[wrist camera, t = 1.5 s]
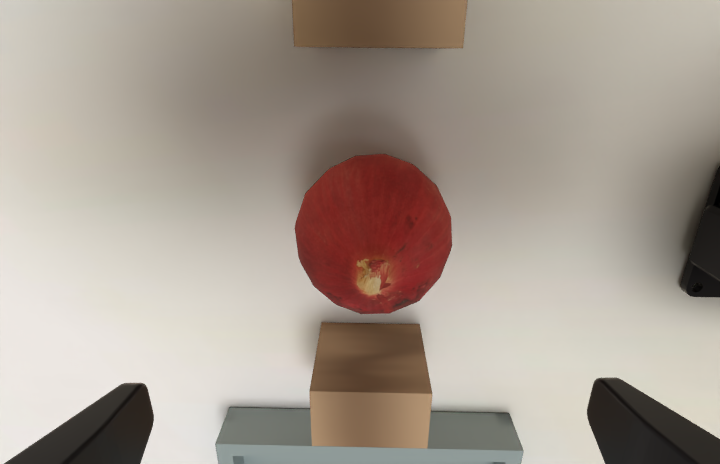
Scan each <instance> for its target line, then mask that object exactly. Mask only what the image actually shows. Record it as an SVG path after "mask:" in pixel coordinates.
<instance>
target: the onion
mask: <svg viewBox="0 0 720 464" xmlns="http://www.w3.org/2000/svg"><path fill="white" fill-rule="evenodd" d="M295 233H296V241H297V248H298V256H299V259H300V262H301V264H302V266H303V268H304V270H305V271H306V273H307V275H308V277H309V278H310V280H311V282H312V284H313V285H314V287H316V288H317V289H318V290H319V291H320V292H321V293H323V294H324V295H325V296H326V297H327V298H329V299H330V300H331V301H332V302H333V303H335V304H336V305H339V306H341V307H344V308H347V309H349V310H352V311H355V312H357V313H360V314H381V313H391V312H394V311H396V310H399V309H401V308H403V307H406V306H408V305H411V304H413V303H415V302H418V301H419V300H420V299H421V298H422V297H423V296H424V295H425V294H426V293H427V291H428V290H429V289H430V288H431V287H432V286H433V285H434V284H435V282H436V281H437V280H438V279H439V278H440V276H441V274H442V271H443V268H444V266H445V263H446V261H447V258H448V256H449V254H450V251H451V247H452V234H451V216H450V214H449V211H448V209H447V207H446V204H445V202H444V200H443V198H442V196H441V194H440V192H439V190H438V187H437V186H436V185H435V184H434V183H433V182H432V181H431V180H430V179H429V178H428V177H427V176H425V175H424V174H423V173H422V172H421V171H420V170H419V169H418V168H417V167H416V166H414V165H413V164H411V163H408V162H406V161H403V160H400V159H397V158H395V157H392V156H389V155H387V154H375V155H360V156H354V157H352V158H350V159H348V160H346V161H344V162H342V163H340V164H338V165H336V166H333V167H331V168H330V169H329V170H328V171H326V172H325V173H324V174H323V176H322V177H321V178H320V179H319V180H318V181H317V182H316V183H315V184H314V185H313V186H312V187H311V188H310V189H309V190H308V191H307V192H306V194H305V197H304V199H303V202H302V205H301V208H300V211H299V214H298V217H297V220H296V225H295Z"/></svg>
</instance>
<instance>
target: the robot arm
mask: <svg viewBox="0 0 720 464" xmlns="http://www.w3.org/2000/svg"><path fill="white" fill-rule="evenodd" d="M695 283H697V284H696V286H694V287H693V288H692V286H693V285H694V284H695ZM681 289H682V290H683V291H684V292H686V293H687V294H688V295H690V296H693V297H720V166H719V168H718V170H717V172H716V175H715V179H714V182H713V185H712V188H711V191H710V194H709V197H708V200H707V203H706V207H705V210H704V213H703V216H702V219H701V222H700V225H699V228H698V232H697V235H696V238H695V241H694V244H693V247H692V250H691V253H690V256H689V260H688V263H687V266H686V269H685V272H684V275H683V278H682V281H681ZM587 416H588V421H589V424H590V426H591V429H592V431H593V434H594V436H595V439H596V441H597V444H598V446H599V449H600V451H601V454H602V457H603V459H604V462H605V464H720V439H719V438H717V437H715V436H714V435H712V434H710V433H709V432H707V431H705V430H704V429H702V428H700V427H699V426H697V425H696V424H694V423H692V422H691V421H689V420H687V419H686V418H684V417H682V416H681V415H679V414H677V413H676V412H674V411H672V410H671V409H669V408H667V407H666V406H664V405H662V404H661V403H659V402H657V401H656V400H654V399H652V398H651V397H649V396H648V395H646V394H644V393H643V392H641V391H639V390H638V389H636V388H634V387H633V386H631V385H629V384H628V383H626V382H624V381H623V380H621V379H619V378H598V379H596V380H595V381H594V384H593V388H592V392H591V396H590V400H589V404H588V408H587ZM153 420H154V415H153V410H152V406H151V401H150V397H149V393H148V389H147V387H146V385H145V384H143V383H124V384H121V385H120V386H118V387H117V388H115V389H114V390H112V391H111V392H109V393H108V394H106V395H105V396H103V397H102V398H100V399H99V400H97V401H96V402H94V403H93V404H91V405H90V406H89V407H87V408H86V409H84V410H83V411H81V412H80V413H78V414H77V415H75V416H74V417H72V418H71V419H69V420H68V421H66V422H65V423H63V424H62V425H60V426H59V427H57V428H56V429H55V430H53V431H52V432H50V433H49V434H47V435H46V436H44V437H43V438H41V439H40V440H38V441H37V442H35V443H34V444H32V445H31V446H29V447H28V448H26V449H25V450H23V451H22V452H21V453H19V454H18V455H16V456H15V457H13V458H12V459H10V460H9V461H7V462H6V463H4V464H140V463H141V460H142V457H143V454H144V451H145V448H146V445H147V442H148V439H149V436H150V433H151V430H152V426H153Z"/></svg>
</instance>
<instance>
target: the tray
mask: <svg viewBox="0 0 720 464" xmlns="http://www.w3.org/2000/svg"><path fill="white" fill-rule="evenodd" d="M215 445H216V451H217V458H218V464H521V461H522V456H523V448H522V445H521V443H520V440H519V438H518V435H517V432H516V430H515V427H514V425H513V422H512V419H511V417H510V414H509V413H472V412H431V413H430V424H429V436H428V447H427V449H426V448H382V447H339V446H312V437H311V415H310V409H282V408H235V407H230V408H229V410H228V413H227V415H226V418H225V421H224V423H223V426H222V428H221V431H220V433H219V436H218V438H217V441H216V444H215Z"/></svg>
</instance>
